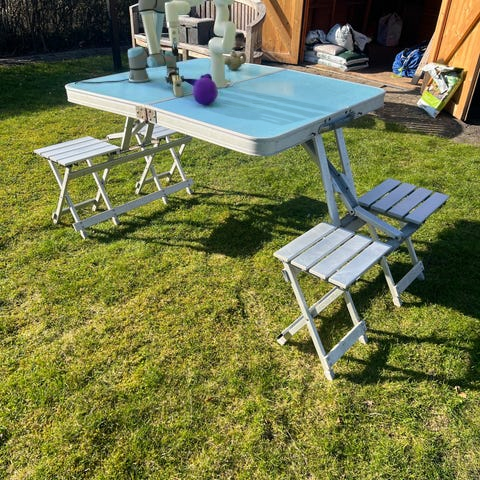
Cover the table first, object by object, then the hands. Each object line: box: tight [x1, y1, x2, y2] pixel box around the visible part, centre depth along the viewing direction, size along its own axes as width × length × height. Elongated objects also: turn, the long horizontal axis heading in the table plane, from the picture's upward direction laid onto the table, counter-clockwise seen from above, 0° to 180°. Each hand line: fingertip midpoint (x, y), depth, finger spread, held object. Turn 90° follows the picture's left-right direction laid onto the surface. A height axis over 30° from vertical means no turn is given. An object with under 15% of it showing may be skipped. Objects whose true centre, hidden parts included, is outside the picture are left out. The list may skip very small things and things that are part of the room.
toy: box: [182, 73, 219, 106], centre depth 272 cm, size 16×18×27 cm
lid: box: [172, 66, 183, 83], centre depth 293 cm, size 18×5×8 cm, turn 12°
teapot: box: [224, 50, 247, 71], centre depth 368 cm, size 21×12×15 cm, turn 120°
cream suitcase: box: [172, 78, 184, 98], centre depth 298 cm, size 17×5×9 cm, turn 12°
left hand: (176, 82), depth 300 cm, fingers closed on cream suitcase, 5 cm apart
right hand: (175, 55), depth 281 cm, fingers open, 9 cm apart
